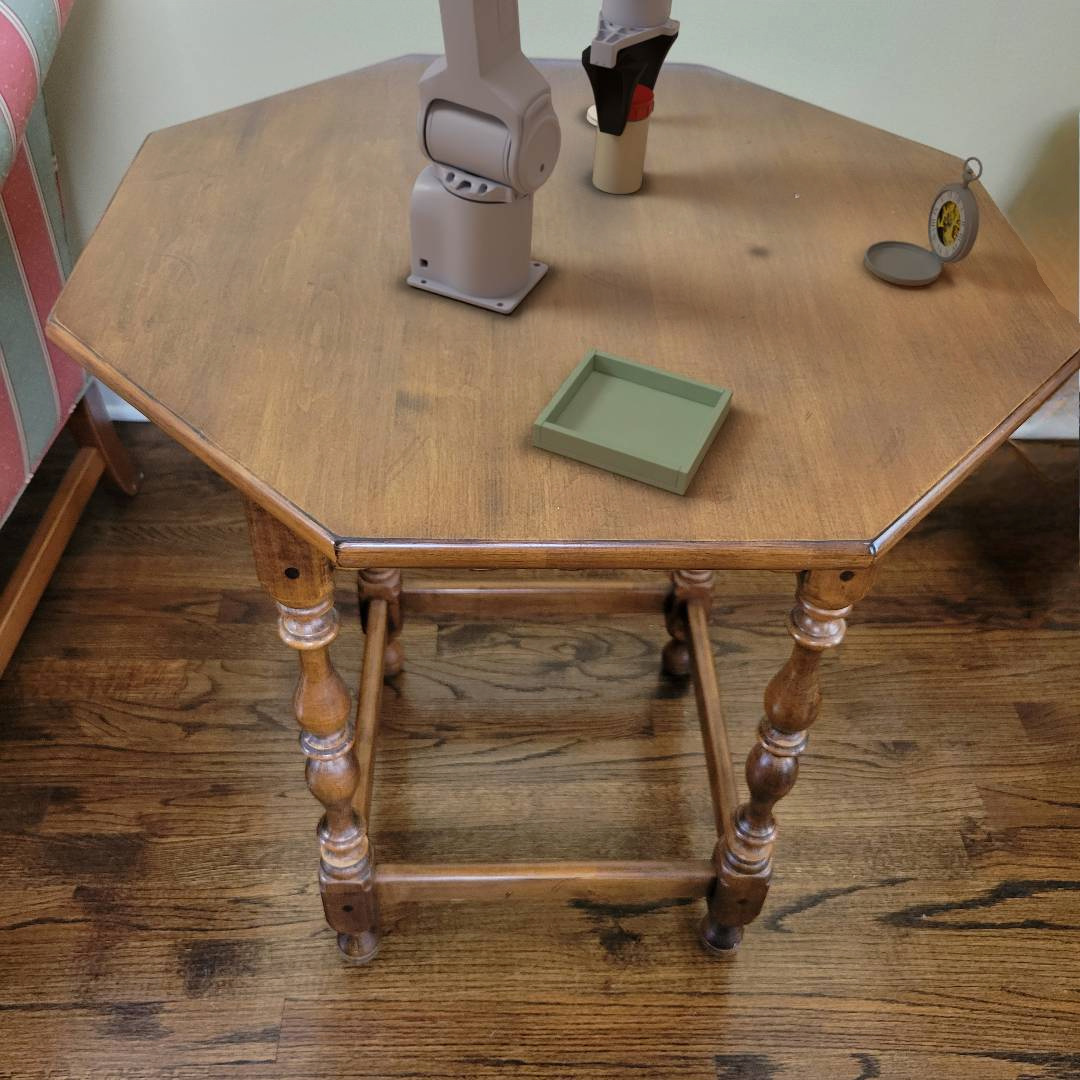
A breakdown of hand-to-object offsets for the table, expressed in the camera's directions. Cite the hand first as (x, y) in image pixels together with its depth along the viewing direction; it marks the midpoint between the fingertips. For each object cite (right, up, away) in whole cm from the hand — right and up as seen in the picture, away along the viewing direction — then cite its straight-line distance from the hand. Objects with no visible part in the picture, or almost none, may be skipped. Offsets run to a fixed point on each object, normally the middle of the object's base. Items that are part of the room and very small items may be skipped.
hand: (623, 120), depth 99 cm
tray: (-1, -31, -22) cm, 38 cm away
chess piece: (0, +6, +15) cm, 16 cm away
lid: (0, +2, -2) cm, 2 cm away
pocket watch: (+25, -15, -5) cm, 30 cm away
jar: (0, -4, +4) cm, 6 cm away
